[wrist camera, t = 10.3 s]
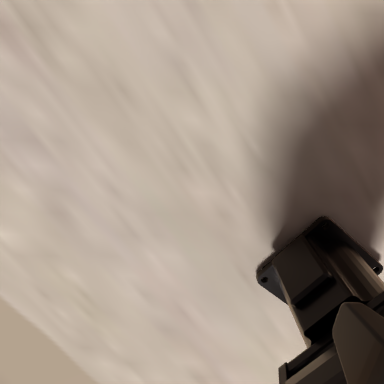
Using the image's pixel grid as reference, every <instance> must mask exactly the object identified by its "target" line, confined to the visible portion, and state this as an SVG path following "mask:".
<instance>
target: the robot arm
mask: <svg viewBox="0 0 384 384" xmlns="http://www.w3.org/2000/svg"><path fill="white" fill-rule="evenodd" d="M324 223H327V224H326V225H325V226H322V225H323V224H324ZM373 268H374V269H373ZM382 270H383V266H382V265H381V264H380V263H379V262H378V261H377V260H376V259H375V258H374V257H373V256H371V255H370V254H369V253H368V252H367V251H366V250H365V249H364V248H363V247H361V246H360V245H359V244H358V243H357V242H356V241H355V240H354V239H352V238H351V237H350V236H349V235H348V234H347V233H346V232H345V231H343V230H342V229H341V228H340V227H339V226H338V225H337V224H336V223H334V222H333V221H332V220H331V219H330V218H329V217H326V216H324V217H321V218H319V219H318V220H317V221H315V222H314V223H313V224H312V225H311V226H310V227H309V228H308V229H307V230H305V231H304V232H303V233H302V234H301V235H300V236H298V237H297V238H296V239H295V240H294V241H293V242H291V243H290V244H289V245H288V246H287V247H286V248H285V249H284V250H283V251H281V252H280V253H279V254H278V255H277V256H276V257H275V258H274V259H273V260H272V261H271V262H270V263H268V264H267V265H266V266H265V267H264V268H263V269H262V270H261V271H259V272H258V273H257V275H256V279H257V281H258V283H259V284H260V285H261V286H262V287H264V288H265V289H266V290H268V291H269V292H271V293H272V294H273V295H275V296H276V297H278V298H279V299H280V300H282V301H283V302H285V303H286V304H287V305H289V308H290V310H291V312H292V314H293V317H294V319H295V321H296V323H297V326H298V328H299V330H300V333H301V335H302V337H303V339H304V342H305V344H306V346H307V349H306V350H305V351H303V352H302V353H301V354H299V355H298V356H297V357H295V358H294V359H293V360H291V361H290V362H289V363H284V364H283V365H282V366H280V367H279V384H384V282H383V281H382V280H381V279H380V278H379V277H378V275H379V274H380V273H381V272H382ZM263 277H266V278H265V279H262V278H263Z"/></svg>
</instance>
